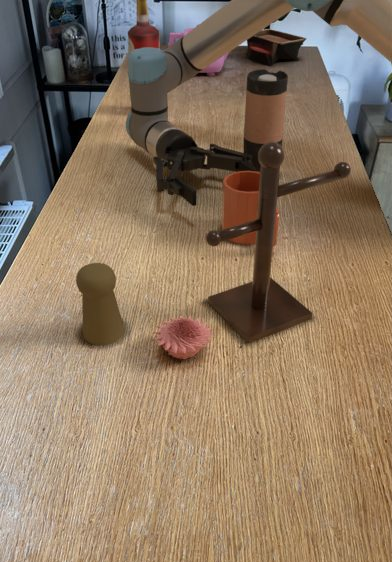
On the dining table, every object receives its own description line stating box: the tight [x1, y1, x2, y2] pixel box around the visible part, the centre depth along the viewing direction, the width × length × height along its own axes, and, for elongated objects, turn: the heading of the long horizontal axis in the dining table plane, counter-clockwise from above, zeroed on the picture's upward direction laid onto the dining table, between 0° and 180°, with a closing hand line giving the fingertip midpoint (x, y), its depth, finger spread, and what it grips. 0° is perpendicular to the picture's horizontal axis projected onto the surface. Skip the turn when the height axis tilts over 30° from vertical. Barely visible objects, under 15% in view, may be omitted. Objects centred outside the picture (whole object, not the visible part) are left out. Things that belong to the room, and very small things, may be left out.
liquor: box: [127, 0, 160, 53], centre depth 139 cm, size 7×7×28 cm
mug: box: [221, 171, 281, 248], centre depth 99 cm, size 13×8×10 cm, turn 30°
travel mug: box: [243, 68, 289, 171], centre depth 114 cm, size 8×8×20 cm
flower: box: [152, 314, 214, 360], centre depth 78 cm, size 8×8×6 cm
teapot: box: [168, 23, 230, 77], centre depth 170 cm, size 20×12×13 cm, turn 86°
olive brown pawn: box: [75, 262, 125, 346], centre depth 80 cm, size 6×6×11 cm
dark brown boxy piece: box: [246, 28, 307, 66], centre depth 180 cm, size 14×18×10 cm
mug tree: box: [205, 142, 352, 344], centre depth 79 cm, size 22×11×26 cm, turn 120°
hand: (228, 189), depth 104 cm, fingers open, 13 cm apart
